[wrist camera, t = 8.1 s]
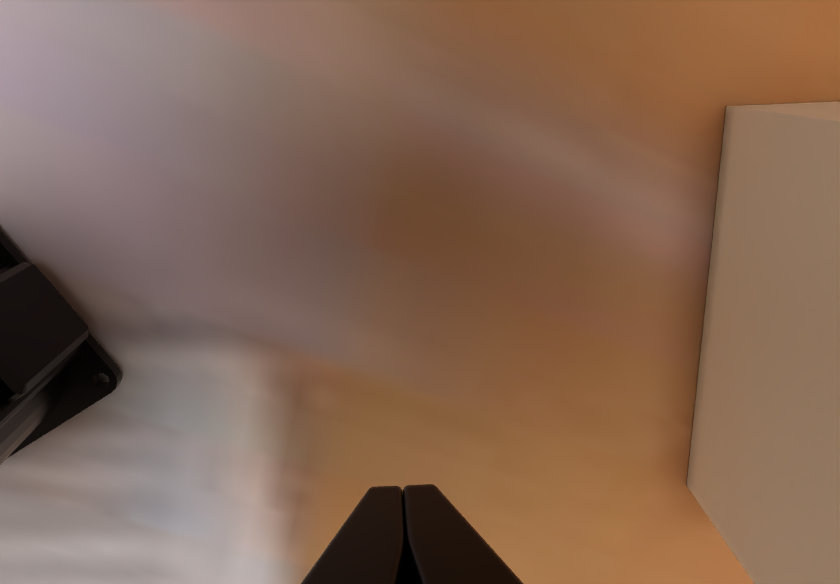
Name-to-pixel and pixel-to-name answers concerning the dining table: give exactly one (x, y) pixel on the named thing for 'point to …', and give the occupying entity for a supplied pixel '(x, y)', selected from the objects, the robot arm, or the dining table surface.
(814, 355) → the carton
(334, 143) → the dining table surface
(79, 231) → the dining table surface
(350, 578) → the robot arm
